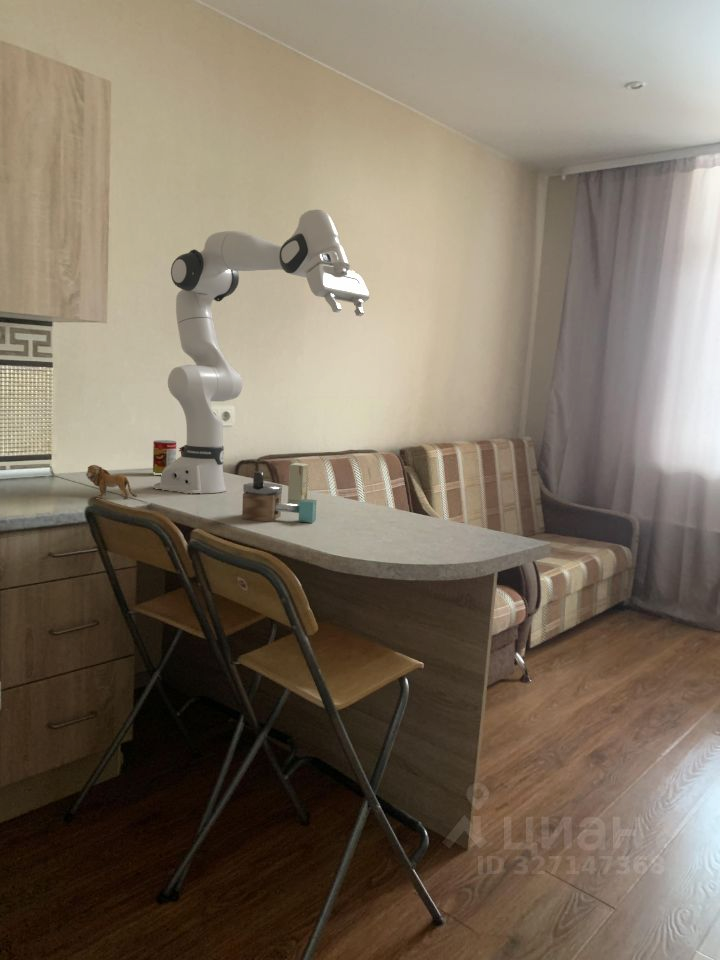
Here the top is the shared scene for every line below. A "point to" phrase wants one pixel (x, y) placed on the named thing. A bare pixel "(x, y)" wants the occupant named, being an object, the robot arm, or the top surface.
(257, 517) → the block
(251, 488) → the handwheel
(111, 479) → the lion figurine
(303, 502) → the teal and grey bar
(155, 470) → the canned food
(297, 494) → the skincare box
